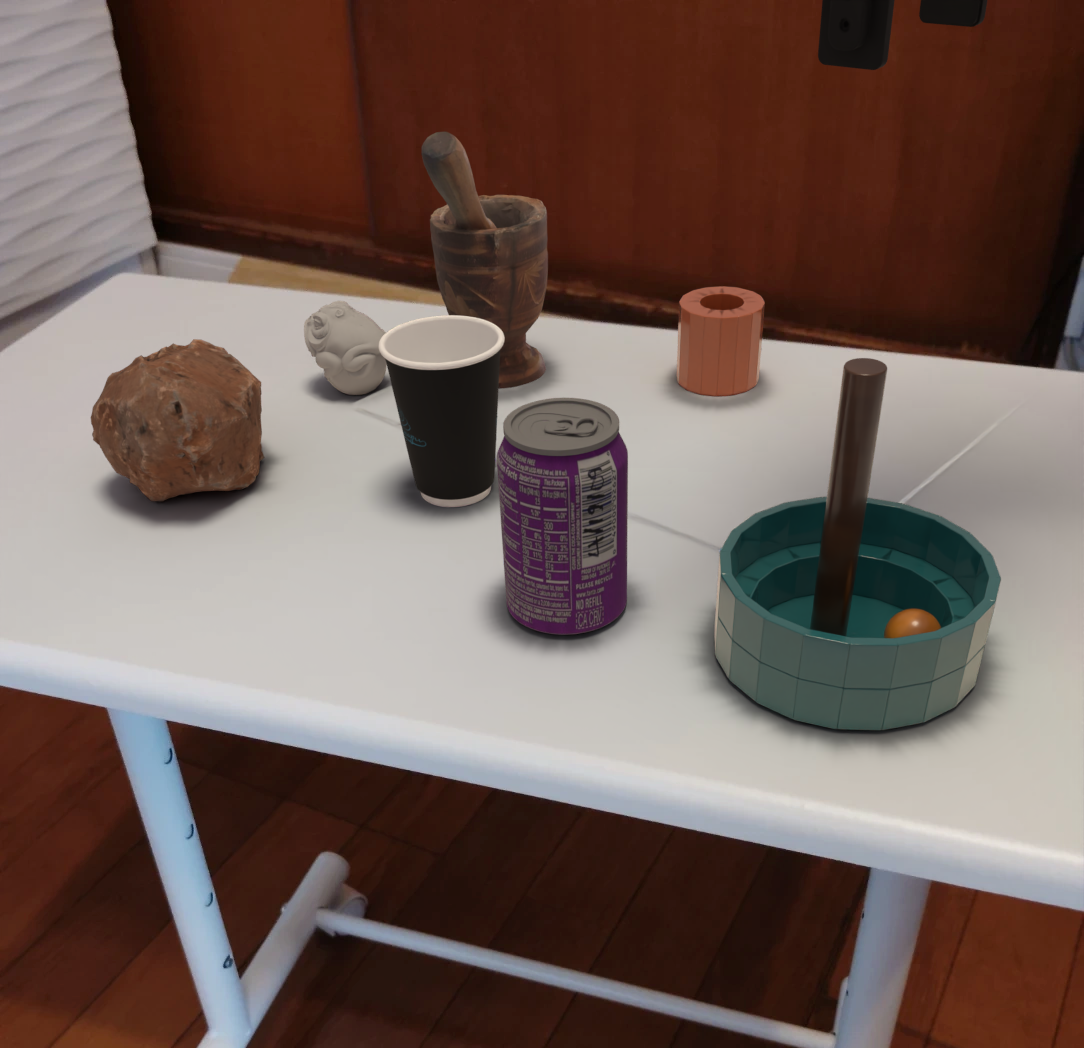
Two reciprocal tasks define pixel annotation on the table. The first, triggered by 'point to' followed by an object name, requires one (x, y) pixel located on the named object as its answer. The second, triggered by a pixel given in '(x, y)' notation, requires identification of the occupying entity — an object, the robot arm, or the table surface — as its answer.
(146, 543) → the table surface
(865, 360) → the stirring stick
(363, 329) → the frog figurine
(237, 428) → the decorative rock
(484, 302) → the mortar and pestle
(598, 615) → the beverage can
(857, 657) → the bowl
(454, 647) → the table surface
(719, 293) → the holder
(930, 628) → the bead
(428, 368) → the dixie cup
